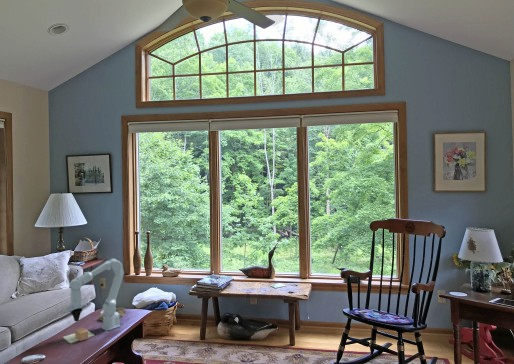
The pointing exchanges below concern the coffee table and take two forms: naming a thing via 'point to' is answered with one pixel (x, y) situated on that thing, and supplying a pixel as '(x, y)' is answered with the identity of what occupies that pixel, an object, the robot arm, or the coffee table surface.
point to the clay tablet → (119, 310)
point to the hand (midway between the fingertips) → (76, 320)
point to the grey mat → (73, 339)
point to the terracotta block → (81, 334)
